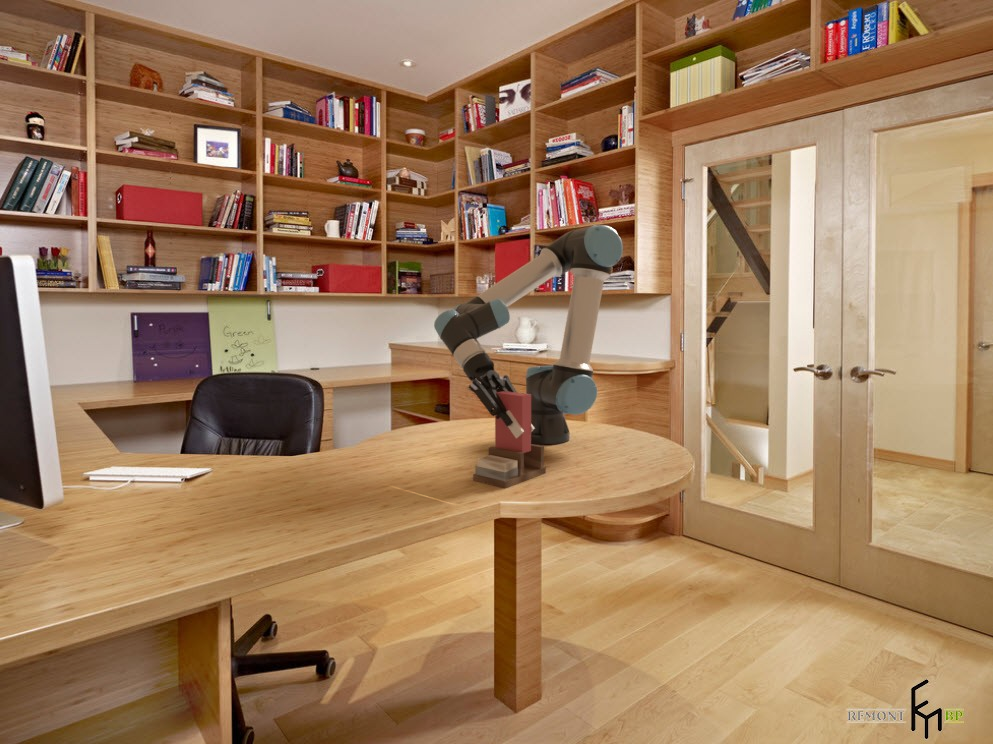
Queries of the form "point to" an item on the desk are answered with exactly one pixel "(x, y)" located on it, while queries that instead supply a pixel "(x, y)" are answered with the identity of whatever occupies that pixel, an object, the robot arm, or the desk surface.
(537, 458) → the book stand
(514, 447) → the book
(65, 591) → the desk surface
